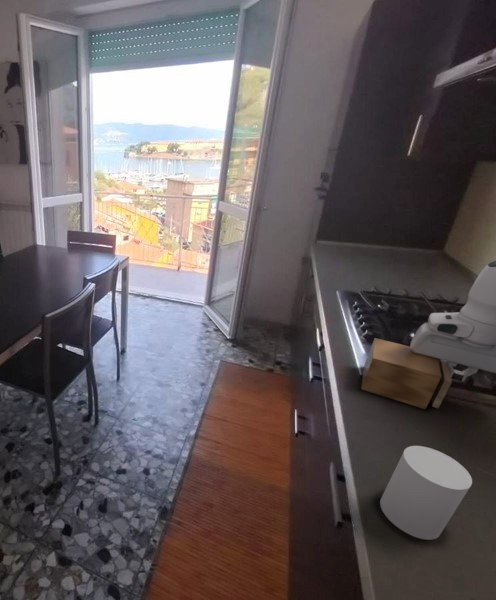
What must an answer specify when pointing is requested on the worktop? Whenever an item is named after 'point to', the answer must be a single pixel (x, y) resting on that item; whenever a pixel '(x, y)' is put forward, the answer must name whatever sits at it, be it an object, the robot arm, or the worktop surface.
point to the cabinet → (400, 373)
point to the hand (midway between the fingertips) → (455, 378)
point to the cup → (424, 492)
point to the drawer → (441, 384)
